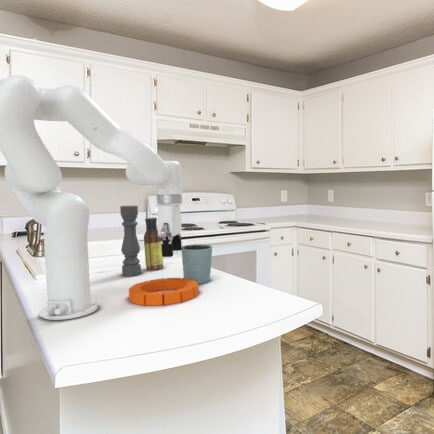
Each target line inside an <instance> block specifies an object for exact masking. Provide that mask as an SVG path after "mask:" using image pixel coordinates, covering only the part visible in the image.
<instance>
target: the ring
mask: <svg viewBox="0 0 434 434" xmlns="http://www.w3.org/2000/svg"><path fill="white" fill-rule="evenodd" d="M165 290H167V291H165ZM198 294H199V284H198V283H197V282H196V281H195V280H192V279H186V278H184V277H166V278H165V277H163V278H155V279H150V280H144V281H141V282H137V283H136V284H133V285H132V286H130V287H129V288H128V299H129V301H130V302H131V303H132V304H135V305H140V306H168V305H173V304H180V303H184V302H186V301H189V300H192V299H194V298H196V297H197V295H198Z"/></svg>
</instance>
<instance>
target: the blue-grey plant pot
mask: <svg viewBox="0 0 434 434" xmlns="http://www.w3.org/2000/svg"><path fill="white" fill-rule="evenodd" d="M212 253H213V246H212V245H209V244H204V243H203V244H201V243H200V244H199V243H198V244H196V243H195V244H187V245H183V246H182V250H181V261H182V262H181V263H182V272H183V278H186V279H192V280H195V281H196V282H197V283H198V285H202V284H207V283H209V282H210V281H211V271H212V270H211V269H212V267H211V266H212V258H213V257H212V256H213V254H212Z"/></svg>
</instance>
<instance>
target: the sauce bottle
mask: <svg viewBox="0 0 434 434" xmlns="http://www.w3.org/2000/svg"><path fill="white" fill-rule="evenodd" d="M144 222H145V233H144V235H143V248H144V258H145V259H144V260H145V266H146V267H145V268H146V270H148V271H156V270H157V271H158V270H161V269H163V268H164V257H162V245H161V237H159V236H158V217H154V216H153V217H152V216H151V217H145V218H144Z"/></svg>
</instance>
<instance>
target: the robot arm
mask: <svg viewBox="0 0 434 434" xmlns="http://www.w3.org/2000/svg"><path fill="white" fill-rule="evenodd" d="M35 121H45V122H67V123H68V124H70V125H71V127H73V128H74V129H75V130H76V131H77V132H78V133H79V134H81V136H82V137H84V138H85V139H86V140H87V141H89V143H90V144H91V145H92V146H94V147H95V148H96V149H98V150H100V151H102V152H105V153H106V154H107V153H108V154H110V155H113V156H116V157H118V158H120V159H122V160H123V161H125V162H127V163H128V164H127V166H126V167H125V168H126V169H125V176H126V178H127V179H128V181H129V182H130V183H132V184H135V185H139V186H155V188H156V189H155V192H156V193H155V194H156V206H158V209H157V230H158V236H159V237H161V245H162V257H163V258H172V257H174V252H175V251H176V252H177V251H182V247H183V246H182V234H181V233H182V214H181V206H182V205H183V190H182V189H183V186H182V185H183V184H182V168H181V163H180V162H179V161H177V160H163V158H162V157H161V156H160V155H159V154H158V153H157V152H156V151H155V150H154V149H153V148H152V147H151V146H149V145H148V144H147V143H146V142H144V141H143V140H141V139H140V138H138V137H137V136H135V135H134V134H132V133H131V132H129V131H128V130H126V129H124V128H123V127H121V126H120V125H119V124H118V123H116V122H115V120H114V119H112V118H111V117H110V115H109V114H108V113H106V111H104V109H103V108H101V106H100V105H99V104H97V102H96V101H95V100H93V99H92V97H91V96H90V95H88V93H86V91H84V89H81V88H80V87H78V86H75V85H61V86H59V87H56V88H47V87H46V88H45V87H40V86H39V85H38V84H37V83H36V82H35V80H33V79H31V78H30V77H28V76H25V75H21V74H17V75H16V74H14V75H10V76H6V77H4V78H1V79H0V152H1V154H2V156H3V157H4V158H5V160H6V162H7V163H6V165H5V167H4V176H5V177H4V178H5V180H6V182H7V185H8V187H9V188H10V189H11V191H12V192H13V194H14V195H15V196H16V198H17V199H18V201H19V202H20V203H21V205H22V206H23V207H24V209H25V210H26V212H27V213H28V215H29V216H30V217H31V218H32V220H34V221H35V222H36V223H37V224H39V225H42V226H44V227H45V231H44V241H43V252H44V261H45V262H44V263H45V278H46V291H47V293H46V294H47V306H46V307H45V308H43V309H41V310H39V317H41V318H43V319H44V320H50V321H61V320H62V321H63V320H71V319H77V318H80V317H81V318H82V317H85V316H89V315H90V314H92V313H95V312H96V311H97V310H98V307H99V306H98V302H96V301H92V300H91V299H92V297H91V280H90V279H91V278H90V264H89V261H90V260H89V249H88V248H89V246H88V235H89V234H88V232H89V223H90V210H89V206H88V204H87V203H86V202H85V200H84V199H83V198H82V197H80V196H79V195H77V194H74V193H71V192H64V191H61V190H60V187H59V185H60V184H61V182H62V179H63V175H62V171H61V168H60V166H59V164H57V162H56V160H55V159H54V158H53V156H52V154H51V153H50V151H49V149H48V148H47V146H46V145H45V143H44V142H43V140H42V138H41V136H40V135H39V133H38V131H37V129H36V128H37V127H36V126H35V125H36V124H35Z"/></svg>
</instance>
